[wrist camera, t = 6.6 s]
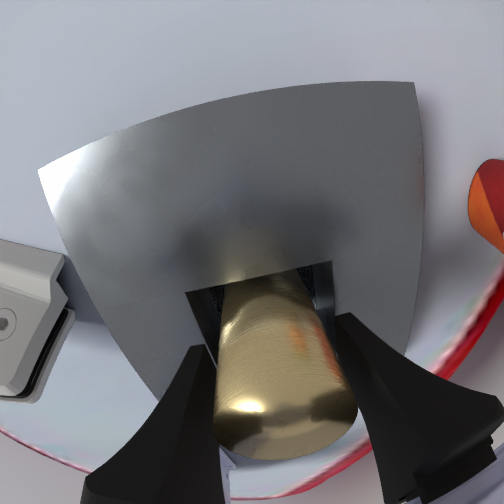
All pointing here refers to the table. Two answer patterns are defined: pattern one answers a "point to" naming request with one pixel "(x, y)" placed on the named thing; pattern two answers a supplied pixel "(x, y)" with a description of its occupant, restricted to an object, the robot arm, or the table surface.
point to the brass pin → (277, 372)
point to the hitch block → (247, 213)
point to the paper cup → (488, 202)
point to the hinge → (30, 320)
